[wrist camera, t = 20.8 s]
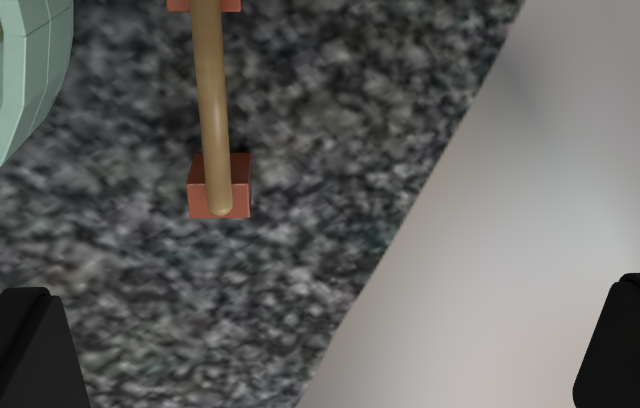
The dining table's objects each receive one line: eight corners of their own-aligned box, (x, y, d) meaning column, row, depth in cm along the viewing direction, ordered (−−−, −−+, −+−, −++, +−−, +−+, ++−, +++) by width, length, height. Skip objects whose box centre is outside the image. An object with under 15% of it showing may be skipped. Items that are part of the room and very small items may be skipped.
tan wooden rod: (178, -57, 20) (209, -55, 20) (191, -60, 21) (221, -58, 21) (204, 219, 27) (228, 222, 26) (213, 206, 28) (236, 209, 27)
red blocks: (174, -53, 25) (160, -42, 22) (243, -51, 25) (238, -41, 22) (197, 185, 31) (189, 219, 28) (252, 184, 31) (250, 218, 28)
